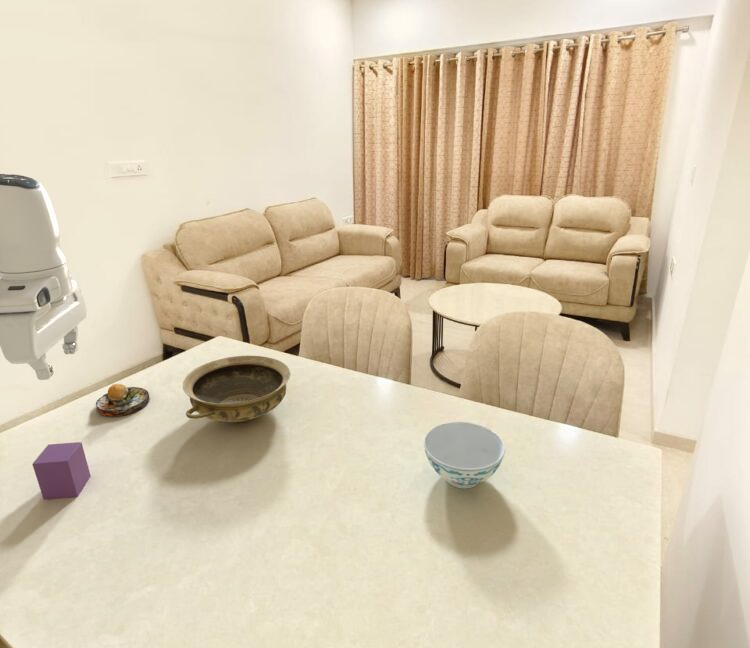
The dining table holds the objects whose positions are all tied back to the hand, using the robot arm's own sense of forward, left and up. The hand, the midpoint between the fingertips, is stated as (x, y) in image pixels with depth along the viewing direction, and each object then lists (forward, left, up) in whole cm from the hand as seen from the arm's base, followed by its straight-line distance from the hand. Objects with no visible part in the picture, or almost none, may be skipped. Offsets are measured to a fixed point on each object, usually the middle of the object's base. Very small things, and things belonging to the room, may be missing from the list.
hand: (59, 364), depth 82 cm
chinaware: (+58, -36, -28) cm, 74 cm away
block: (-4, +7, -28) cm, 29 cm away
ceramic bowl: (+33, +12, -28) cm, 45 cm away
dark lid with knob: (+11, +34, -28) cm, 45 cm away
